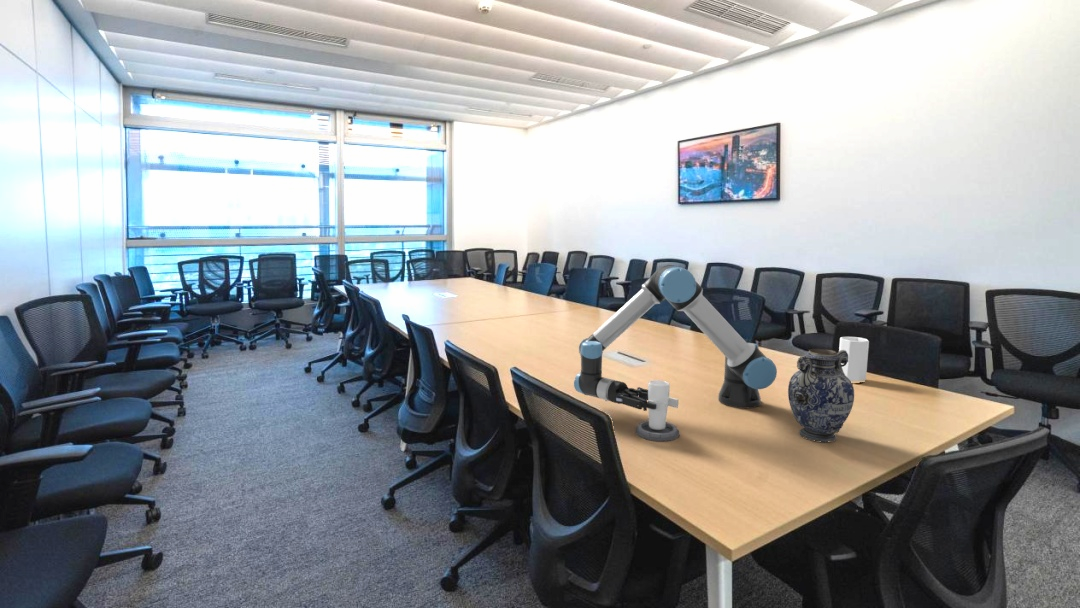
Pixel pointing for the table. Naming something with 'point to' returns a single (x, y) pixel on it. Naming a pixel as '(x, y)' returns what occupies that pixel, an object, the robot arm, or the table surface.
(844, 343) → the cup
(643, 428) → the coaster
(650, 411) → the drinking glass
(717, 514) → the table surface
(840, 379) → the decorative vase
